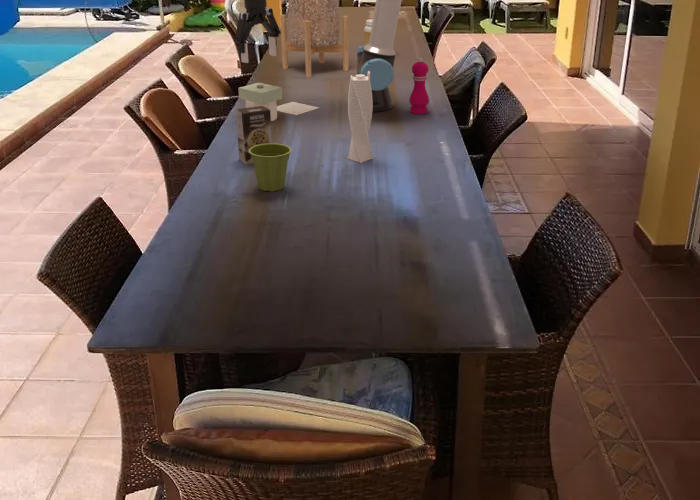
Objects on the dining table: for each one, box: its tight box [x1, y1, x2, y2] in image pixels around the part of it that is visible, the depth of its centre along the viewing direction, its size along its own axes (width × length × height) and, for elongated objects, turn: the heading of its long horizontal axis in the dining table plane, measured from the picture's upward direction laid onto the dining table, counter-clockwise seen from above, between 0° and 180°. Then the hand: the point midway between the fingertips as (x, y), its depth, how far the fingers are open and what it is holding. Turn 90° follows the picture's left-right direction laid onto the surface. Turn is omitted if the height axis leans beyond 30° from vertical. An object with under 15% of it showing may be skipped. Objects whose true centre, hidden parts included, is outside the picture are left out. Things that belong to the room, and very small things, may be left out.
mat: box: [277, 101, 320, 116], centre depth 298 cm, size 14×13×1 cm
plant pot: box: [249, 142, 292, 192], centre depth 221 cm, size 12×12×11 cm
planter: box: [280, 0, 350, 78], centre depth 352 cm, size 22×23×32 cm
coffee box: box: [235, 106, 273, 165], centre depth 242 cm, size 9×6×16 cm
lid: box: [238, 82, 283, 104], centre depth 282 cm, size 12×10×5 cm
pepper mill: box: [408, 57, 430, 115], centre depth 289 cm, size 7×7×20 cm
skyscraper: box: [344, 71, 377, 164], centre depth 239 cm, size 8×8×28 cm
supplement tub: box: [363, 18, 373, 45], centre depth 380 cm, size 12×12×17 cm
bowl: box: [244, 100, 278, 122], centre depth 284 cm, size 11×11×8 cm
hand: (259, 59), depth 277 cm, fingers open, 13 cm apart
